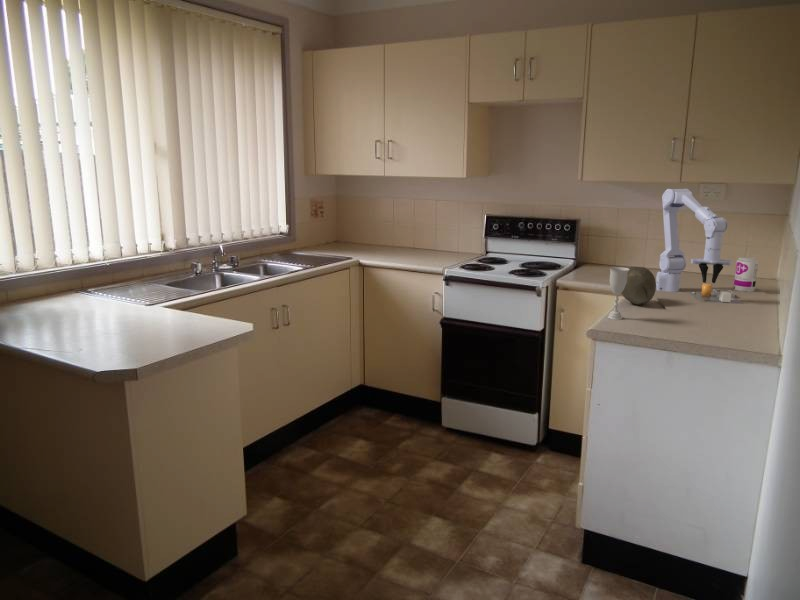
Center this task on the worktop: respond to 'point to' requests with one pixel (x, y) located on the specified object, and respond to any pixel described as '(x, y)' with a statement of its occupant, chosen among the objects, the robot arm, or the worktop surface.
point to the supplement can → (745, 274)
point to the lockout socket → (717, 292)
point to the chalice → (617, 287)
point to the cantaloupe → (639, 285)
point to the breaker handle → (725, 296)
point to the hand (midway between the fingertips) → (708, 282)
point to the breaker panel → (713, 299)
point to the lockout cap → (706, 290)
